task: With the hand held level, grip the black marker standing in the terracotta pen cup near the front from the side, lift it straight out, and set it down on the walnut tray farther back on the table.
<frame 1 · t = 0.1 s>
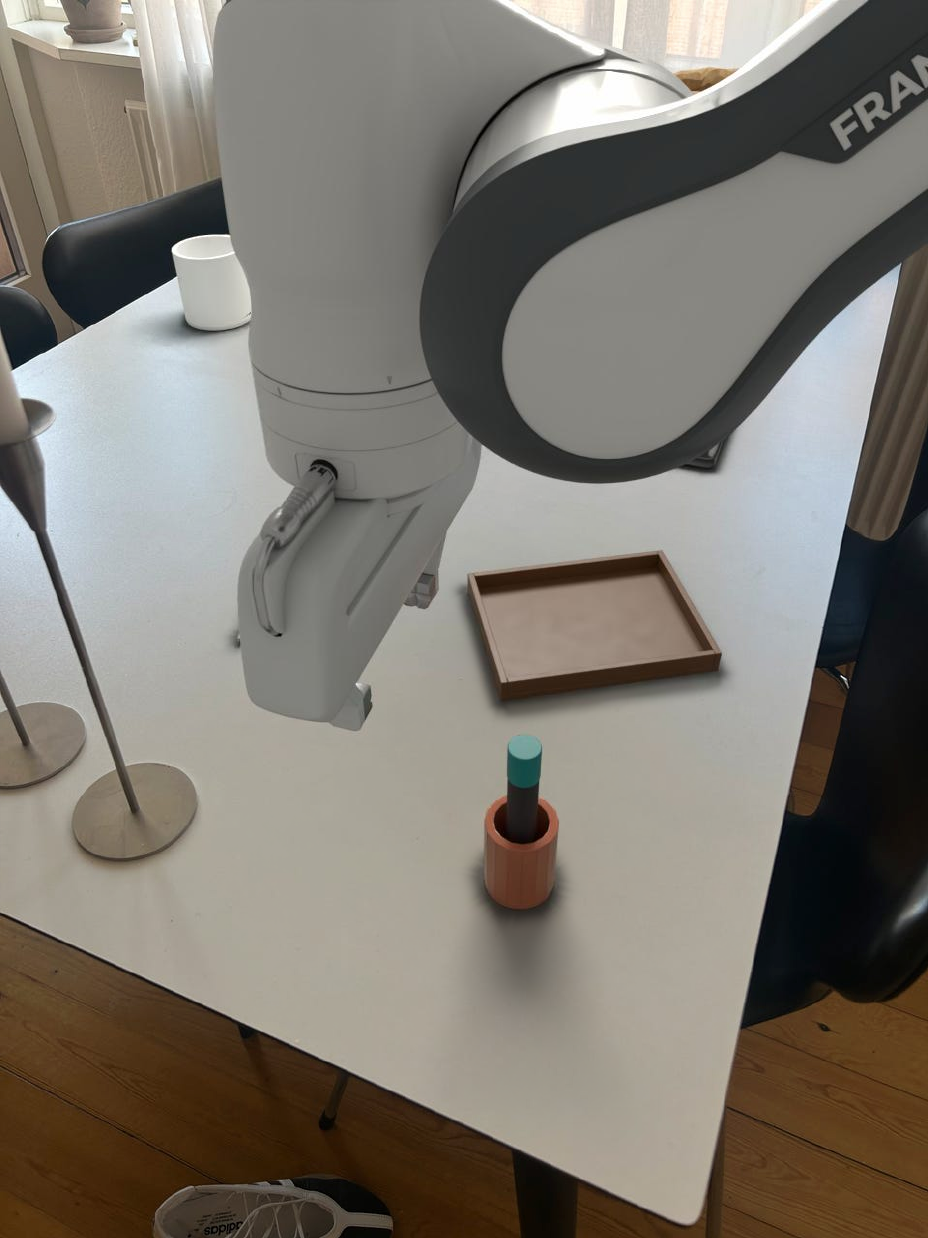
hand: (387, 655, 49), 24 cm above the table, tool pointing down, fingers open, 8 cm apart
tray: (586, 628, 88), on the table
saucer: (490, 249, 164), on the table
marker: (519, 874, 67), point 1 cm above the table, touching pen cup
phone: (691, 433, 115), on the table
lantern: (540, 351, 133), on the table
pen: (261, 606, 91), on the table
rough clay pot: (705, 243, 165), on the table
pen cup: (519, 879, 67), on the table
mug: (224, 314, 144), on the table
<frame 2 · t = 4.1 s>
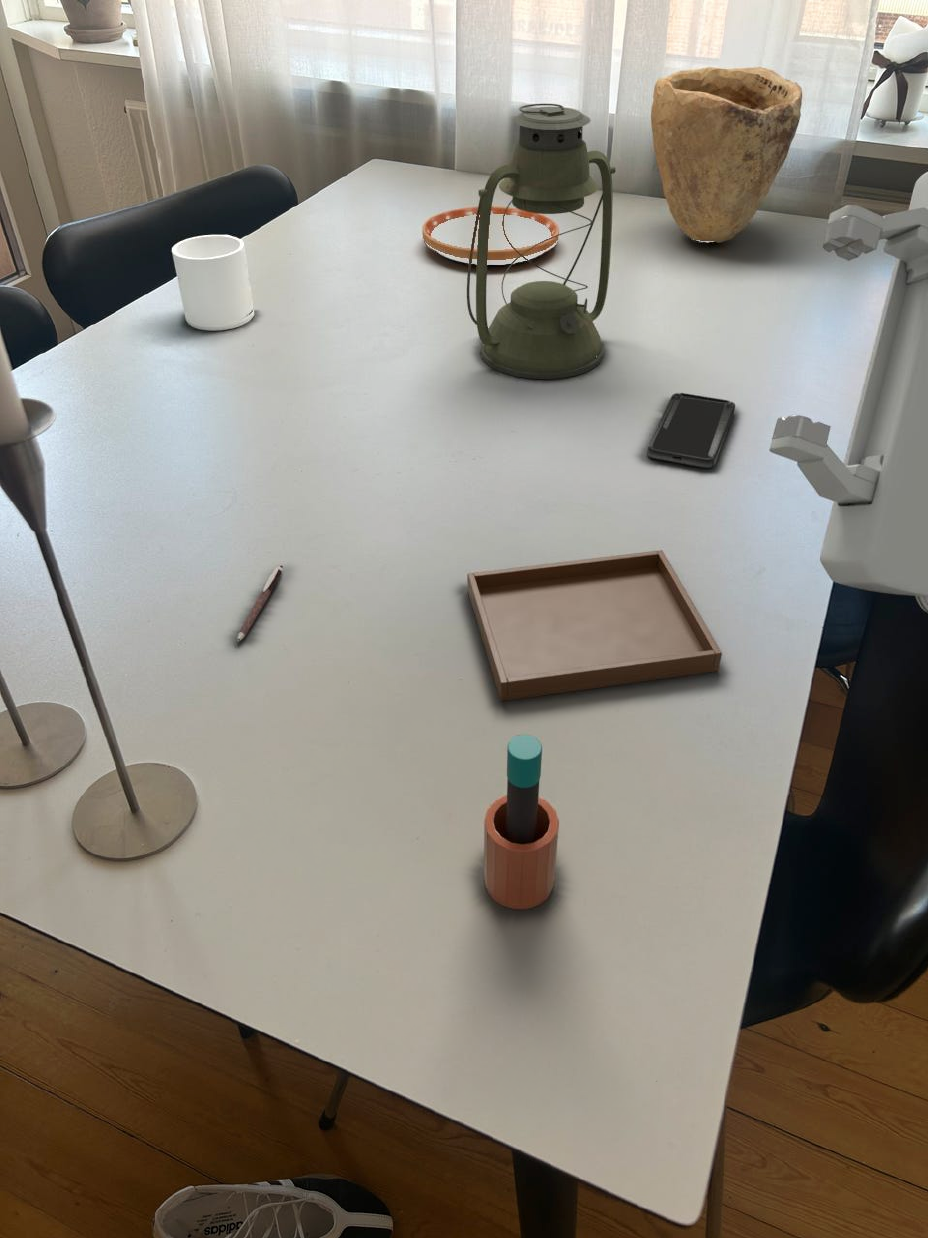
hand: (807, 328, 42), 40 cm above the table, tool pointing upward, fingers open, 8 cm apart
nothing on the table moved.
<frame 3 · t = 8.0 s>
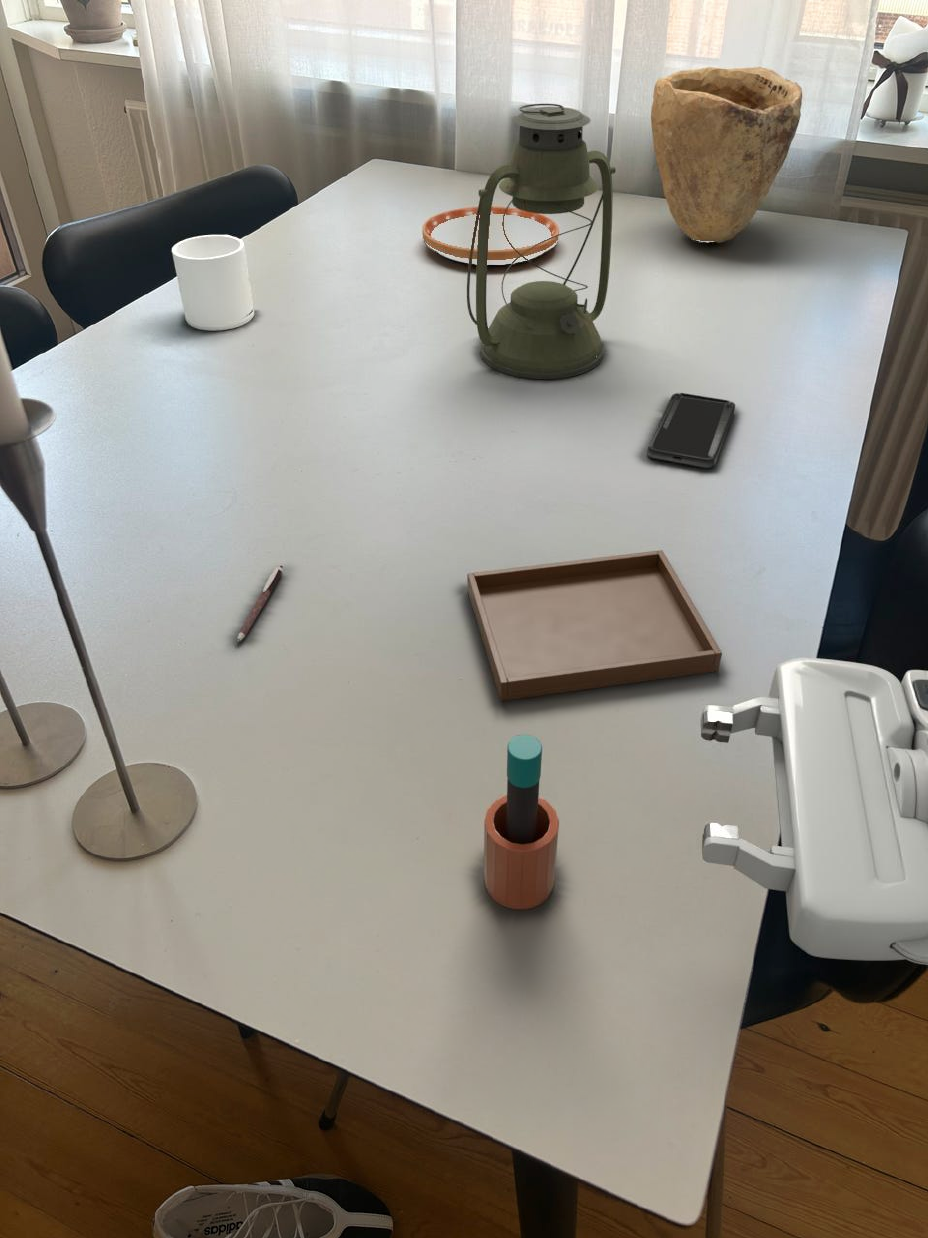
hand: (702, 778, 58), 12 cm above the table, tool horizontal, fingers open, 8 cm apart
nothing on the table moved.
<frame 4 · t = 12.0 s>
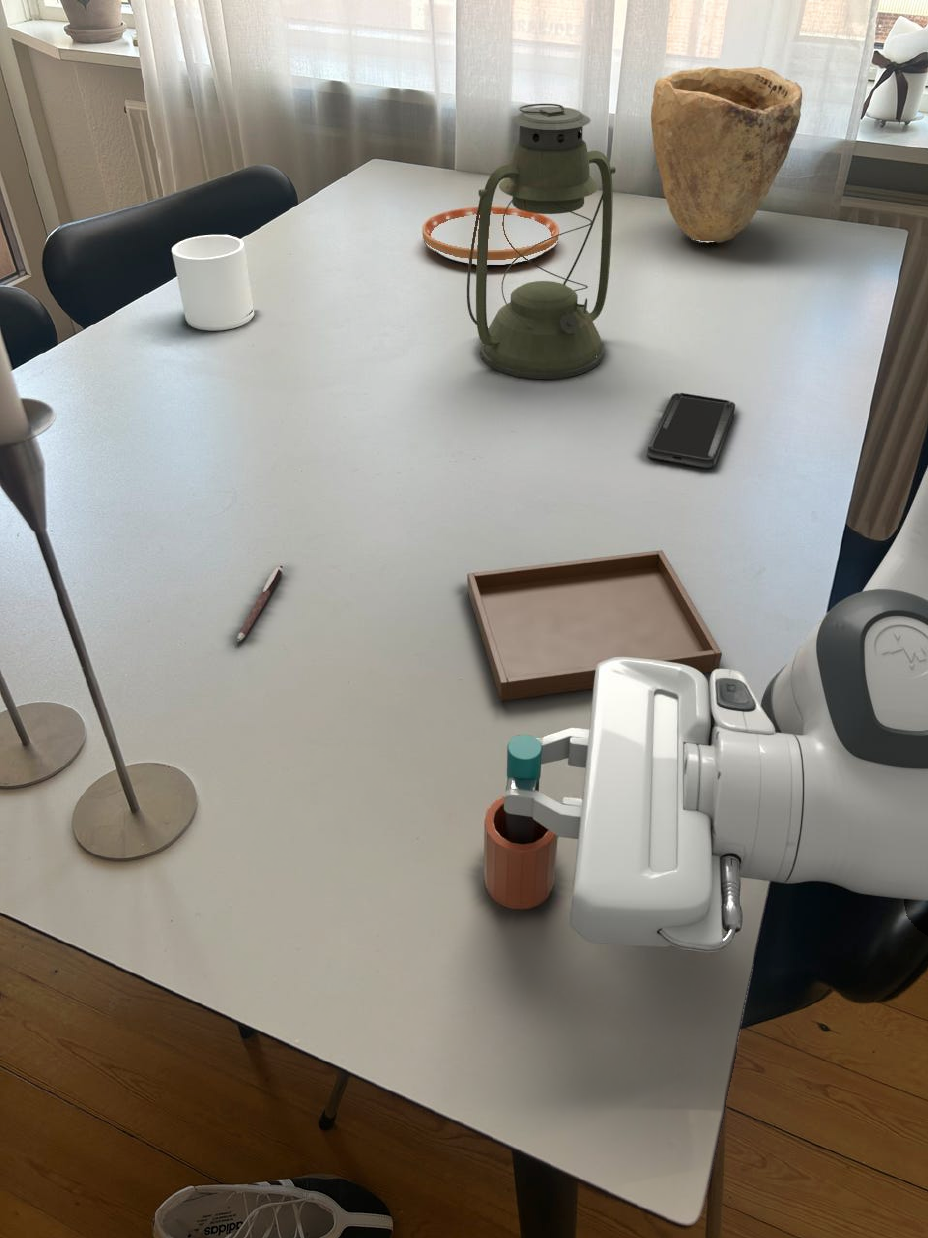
hand: (509, 773, 60), 11 cm above the table, tool horizontal, fingers closed on marker, 2 cm apart
marker: (519, 874, 67), point 1 cm above the table, touching gripper, pen cup
everything else where it was.
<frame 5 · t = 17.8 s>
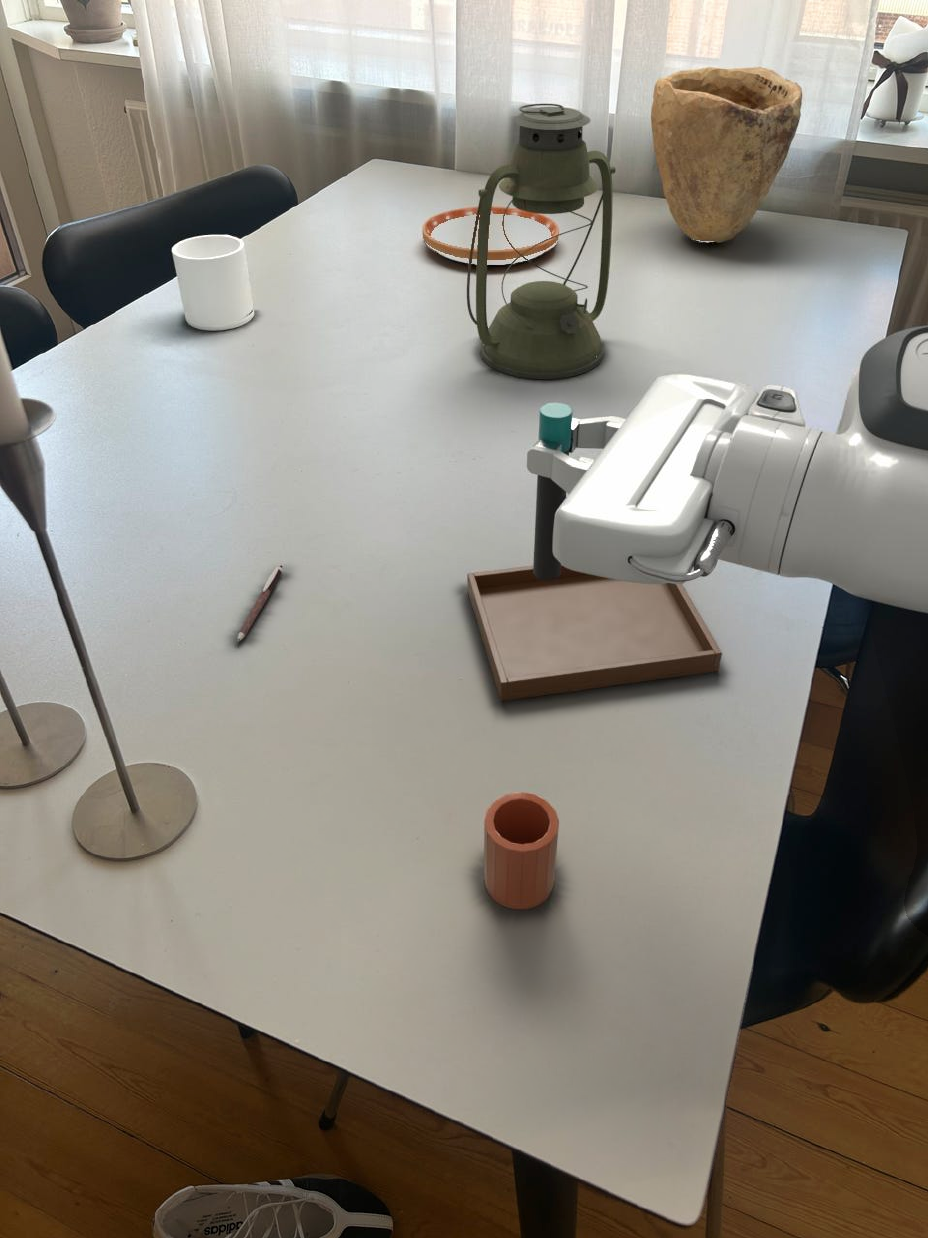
hand: (542, 442, 63), 25 cm above the table, tool horizontal, fingers closed on marker
marker: (546, 572, 70), point 15 cm above the table, touching gripper
everything else where it was.
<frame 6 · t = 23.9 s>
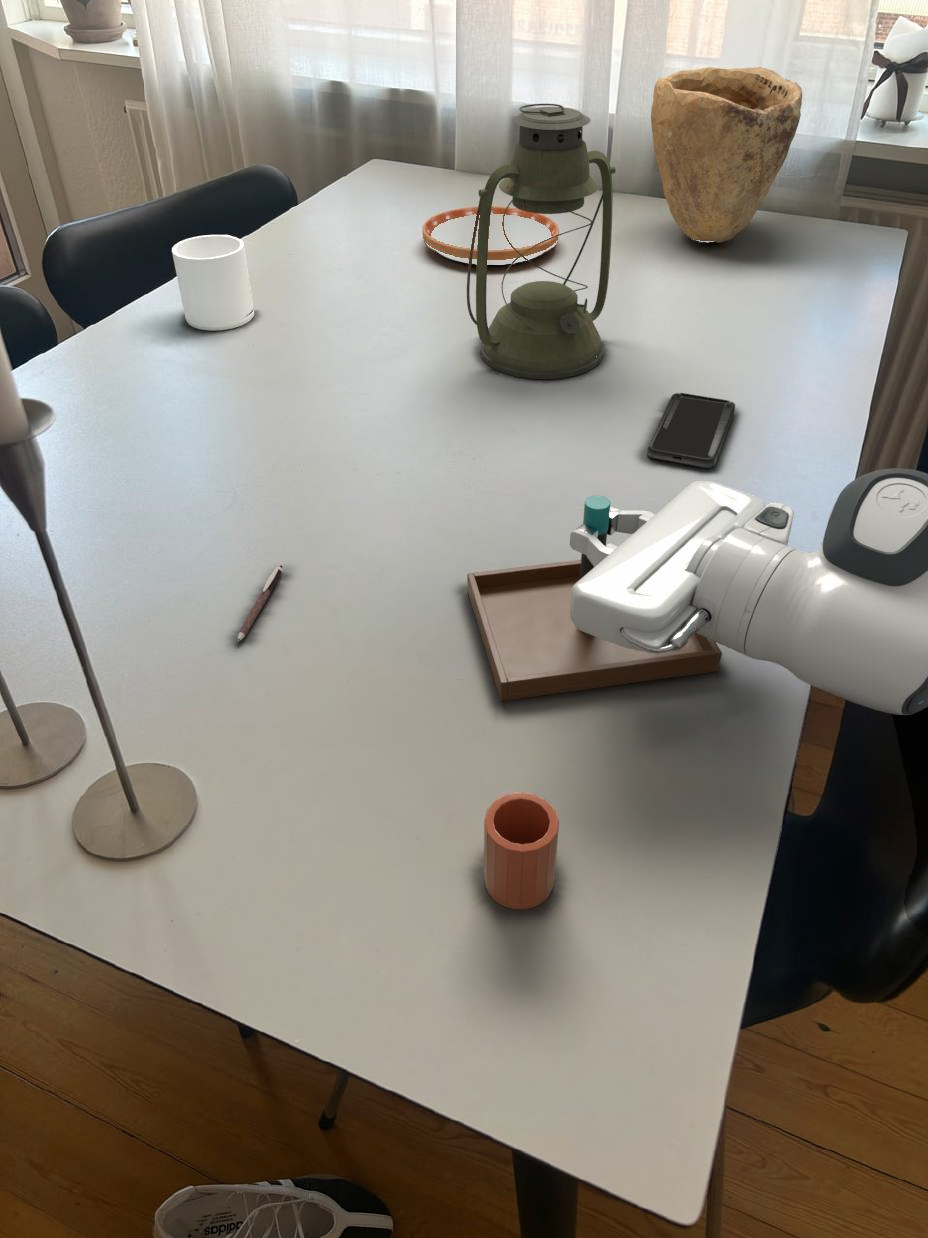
hand: (586, 525, 81), 11 cm above the table, tool horizontal, fingers closed
marker: (587, 623, 87), point 1 cm above the table, touching tray
everything else where it was.
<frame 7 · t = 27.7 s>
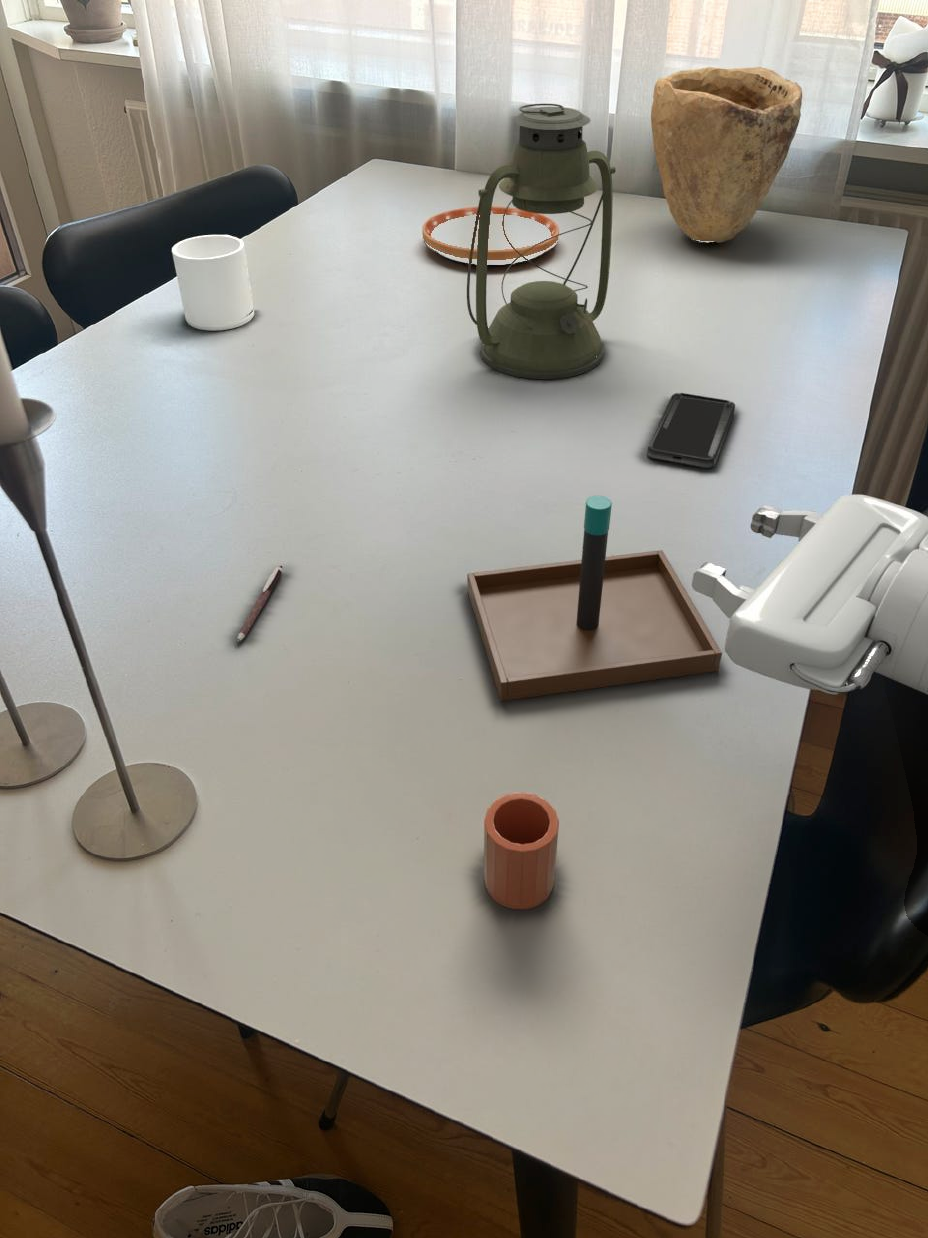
hand: (727, 544, 72), 15 cm above the table, tool horizontal, fingers open, 8 cm apart
nothing on the table moved.
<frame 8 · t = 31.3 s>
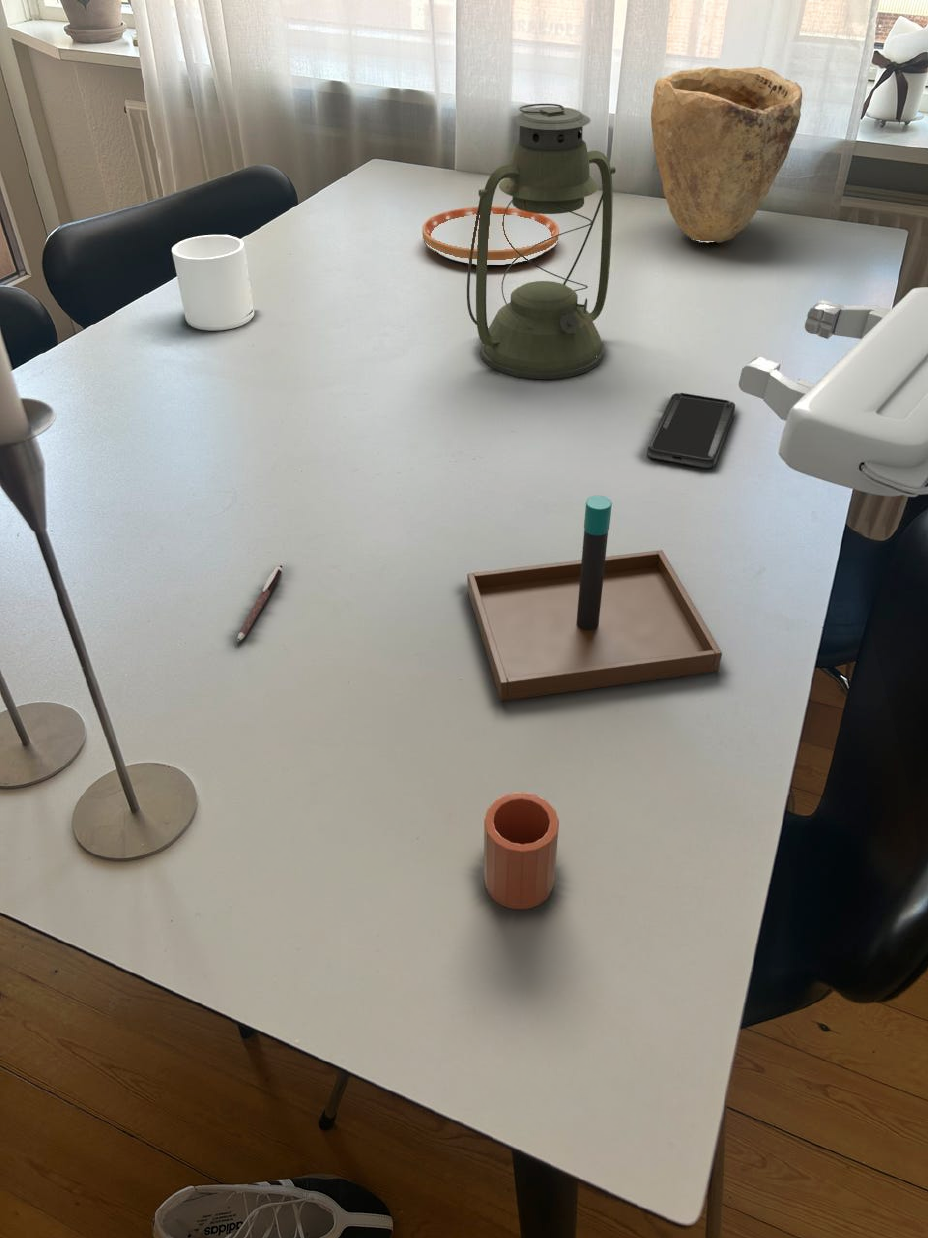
hand: (779, 341, 62), 31 cm above the table, tool horizontal, fingers open, 8 cm apart
nothing on the table moved.
at the end: marker inside the target area in the tray (0.1 cm from its centre), point 0.6 cm above the tray's base; the gripper is holding nothing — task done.
